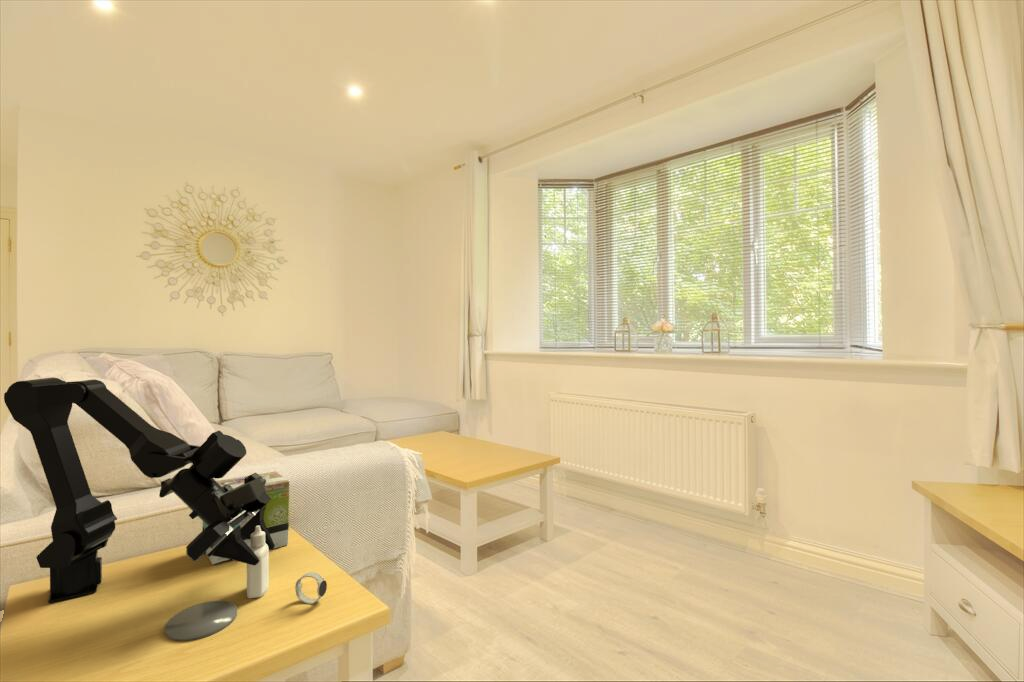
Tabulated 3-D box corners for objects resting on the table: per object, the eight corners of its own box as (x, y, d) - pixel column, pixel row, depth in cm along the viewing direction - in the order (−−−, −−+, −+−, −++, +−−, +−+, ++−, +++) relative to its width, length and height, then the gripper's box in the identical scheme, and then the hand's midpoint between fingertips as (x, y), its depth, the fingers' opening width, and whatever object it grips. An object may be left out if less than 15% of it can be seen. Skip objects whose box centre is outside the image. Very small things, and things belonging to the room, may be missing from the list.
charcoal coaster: (165, 649, 73) (165, 645, 73) (164, 616, 82) (164, 613, 82) (241, 625, 79) (241, 622, 79) (233, 597, 87) (232, 594, 87)
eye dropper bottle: (278, 584, 92) (278, 521, 92) (256, 600, 87) (256, 533, 86) (258, 581, 93) (258, 519, 93) (235, 597, 88) (235, 531, 87)
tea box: (212, 567, 99) (211, 494, 98) (201, 549, 106) (201, 482, 106) (290, 545, 109) (290, 479, 108) (275, 531, 116) (275, 469, 116)
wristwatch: (319, 607, 85) (319, 579, 85) (292, 604, 86) (292, 576, 86) (328, 598, 88) (328, 571, 88) (302, 595, 88) (302, 568, 88)
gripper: (204, 480, 80) (272, 547, 80) (261, 451, 98) (316, 506, 99) (155, 528, 80) (224, 595, 80) (221, 490, 98) (277, 544, 99)
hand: (265, 555), depth 90 cm, fingers closed on eye dropper bottle, 5 cm apart
